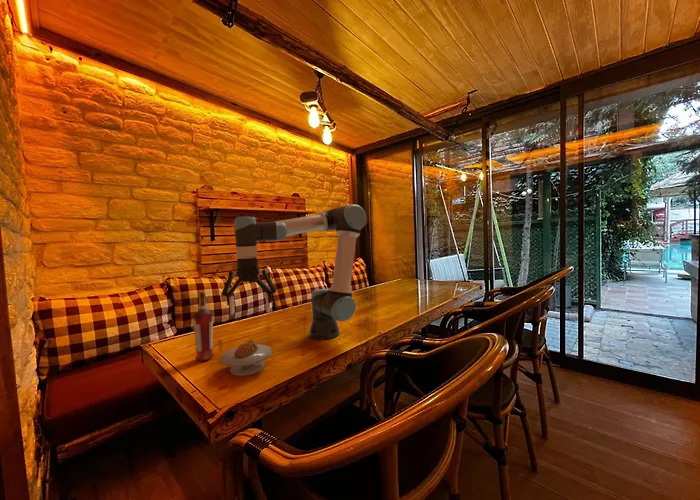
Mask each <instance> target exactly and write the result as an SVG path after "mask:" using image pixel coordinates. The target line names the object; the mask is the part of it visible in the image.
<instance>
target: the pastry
mask: <svg viewBox="0 0 700 500" xmlns="http://www.w3.org/2000/svg"><path fill="white" fill-rule="evenodd" d="M257 344H258V343H257V342H256V341H255V340H252V339H251V340H246V341H245V342H243V343H242V344H240V345H239V346H237V347H238V348H237V349H236V351H235V353H234V355H235V357H246V356H249V355H251V354H253V353H254V352H256V351H257V350H258V346H257Z"/></svg>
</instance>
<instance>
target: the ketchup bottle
mask: <svg viewBox="0 0 700 500" xmlns="http://www.w3.org/2000/svg"><path fill="white" fill-rule="evenodd" d="M197 293H198V294H197V295H198V311H196V312H194V313H193V314H192V320H193V331H194V339H195V350H196V356H195V359H196V360H198V361H199V362H207V361H209V360H211V359H212V358H213V357H214V356H215V353H214V348H213V343H214V341H213V338H214V337H213V336H214V335H213V328H214V326H213V325H214V324H213V323H214V319H213V318H214V317H213V315H214V314H213V311H211V310H209V309H207V305H206V304H207V302H206V291H198V292H197Z"/></svg>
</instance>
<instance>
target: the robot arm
mask: <svg viewBox="0 0 700 500" xmlns="http://www.w3.org/2000/svg"><path fill="white" fill-rule="evenodd" d="M367 219H368V217H367V213H366V211H365V210H364V208H363V207H362V206H360V205H358V204H347V205H343V206H338V207H335V208H332V209H328V210H326V211H319V212H318V214H314V215H309V216H306V215H305V216H300V217H295V218H290V219H289V218H287V219H282V220H275V221H262V222H261V221H257V220H256V218H255V217H254V216H238V217H236V218H235V219H234V235H235V253H236V257H237V259H236V269H237V270H236V271H235V270H230V271H229V272H228V277H227V280H226V283H225V284H224V287H223V289H222V291H221V294H220V295H221V296H222V297H226V305H227V306H229V313H230V315H234V314H235V312H236V311H235V310H236V309H235V296H234V295H233V294H234V293H235V291H237V289H238V287H239V286H240V285H241V283H242V282H243V283H248V282H249V283H252V282H254V283H256V284H257V285H258V286H259V287H260V288H261V289H262V290H263V291H264V292H265V294H266V295H265V309H266V310H265V311H266V313H269V312H270V311H271V304H272V303H273V294H275V293H276V292H277V288H276V287H275V285H274V283H273V281H272V280H271V278H270V276H269V275H268V270H267V268H264V269H259V261H258V260H259V259H258V257H257V256H258V243H257V242H259V243H260V242H269V241H270V242H272V241H273V242H274V241H277V242H279V241H284V240H285V239H286V238H287V237H290V236H295V235H300V234H306V233H310V232H311V233H312V232H316V231H321V232H327V231H335V233H336V235H337V236H338V239H337V245H336V253H335V260H334V268H333V275H332V283H331V286H330V287H329V288H322V289H321V288H320V289H314V290H312V292H311V296H310V297H311V298H310V299H311V316H312V320H311V324H310V326H309V327H310V328H309V333H308V334H309V337H310V338H311V339H316V340H328V339H329V340H330V339H333V338H336V337H338V336H339V335H340V328H339V325H338V322H347V321H349V320H350V319H351V318H352V317H353V316H354V314H355V312H356V309H357V303H356V301H355V299H354V298H353V293H354V291H353V290H352V289H351V283H352V276H353V268H354V258H355V252H356V244H357V238H358V237H359V236H360V235H361V230H362V229H363V228H364V227H365V226H366V225H367V221H368V220H367ZM259 275H261V276H262V277H263V278H264V281H265V282H266V284H267V285H266V284H265V282H263V281H262V279H261V278H260V277H259ZM236 276H237V277H238V279H236V281H235V283H234V284H233V286H232V287H231V284H232V282H233V281H234V277H236ZM229 289H230V290H229ZM337 321H338V322H337Z"/></svg>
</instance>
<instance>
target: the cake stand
mask: <svg viewBox="0 0 700 500" xmlns="http://www.w3.org/2000/svg"><path fill="white" fill-rule="evenodd" d="M256 344H257V346H258V350H257V351H256V352H254V353H253V354H251V355H249V356H246V357H235V355H234V353H235V351H236V349H237V348H238V347H239V346H236V347H233V348H231V349H228V350H226V351H225V352H224V353H222V354H221V355H220V362H221V364H223V365H225V366H229V367H230V369H229V370H230V374H231V375H233V376H234V377H246V376H253V375H255V374H257V373H259V372H261V371H262V370H263V369H264V368H265V364H264V363H265V362H264V361H265V360H267V359H268V358H269V357H270V356H271V355H272V348H271V347H270V346H269V345H265V344H261V343H259V344H258V343H256Z"/></svg>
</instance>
